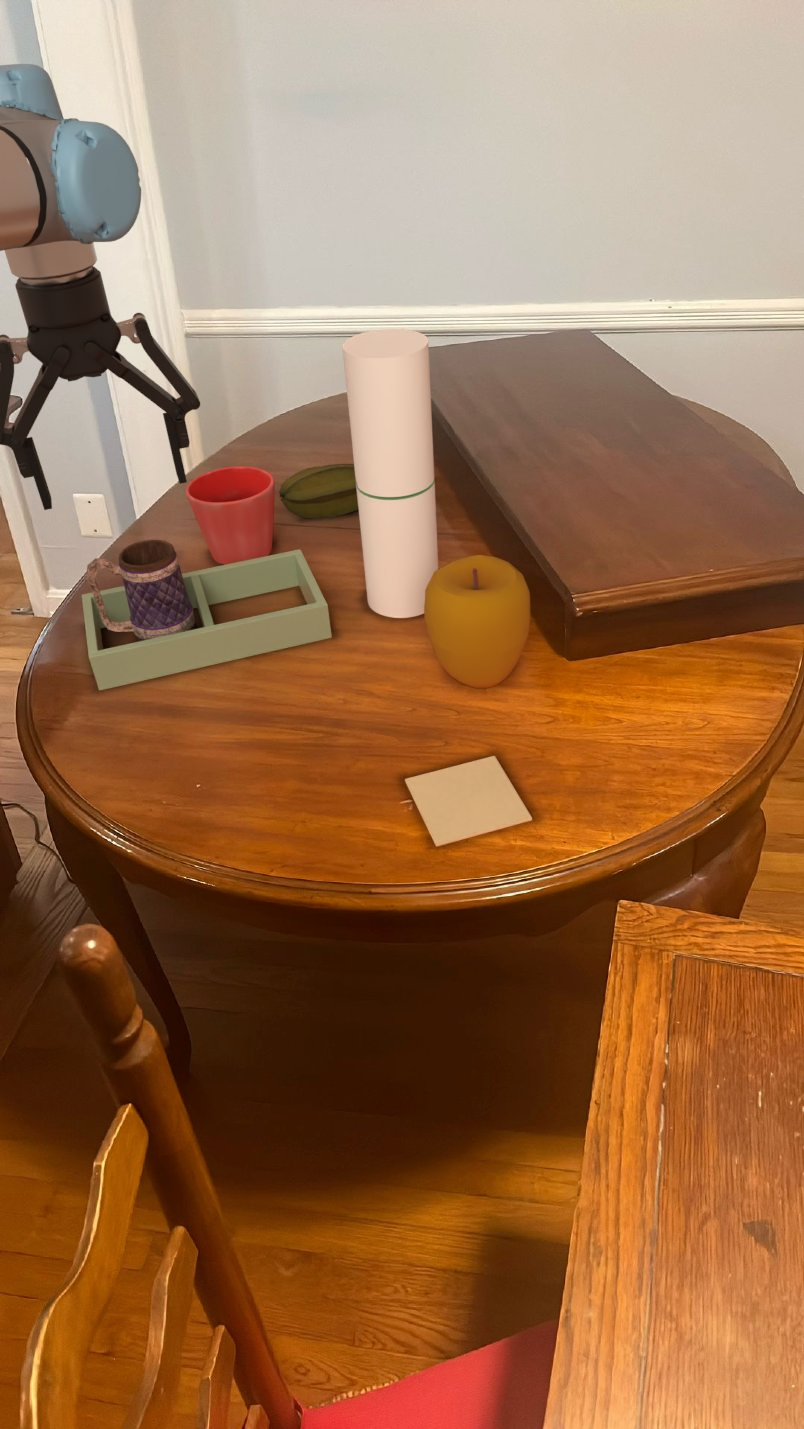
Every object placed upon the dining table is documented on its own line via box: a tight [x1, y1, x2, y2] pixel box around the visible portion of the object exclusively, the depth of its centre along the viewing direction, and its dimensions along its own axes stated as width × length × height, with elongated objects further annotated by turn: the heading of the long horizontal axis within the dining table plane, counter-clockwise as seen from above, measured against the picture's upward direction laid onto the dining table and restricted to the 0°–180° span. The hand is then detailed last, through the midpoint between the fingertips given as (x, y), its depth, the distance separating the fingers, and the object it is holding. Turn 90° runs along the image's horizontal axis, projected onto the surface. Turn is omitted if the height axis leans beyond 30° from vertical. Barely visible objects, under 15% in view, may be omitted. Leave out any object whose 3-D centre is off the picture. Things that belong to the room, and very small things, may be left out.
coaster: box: [404, 755, 533, 848], centre depth 90 cm, size 9×9×1 cm
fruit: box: [278, 463, 359, 520], centre depth 134 cm, size 11×12×7 cm
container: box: [342, 328, 439, 619], centre depth 108 cm, size 9×9×30 cm
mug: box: [85, 539, 198, 642], centre depth 110 cm, size 10×7×12 cm
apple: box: [423, 554, 531, 689], centre depth 102 cm, size 11×11×13 cm
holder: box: [81, 548, 333, 691], centre depth 113 cm, size 26×14×4 cm, turn 107°
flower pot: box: [185, 466, 276, 565], centre depth 126 cm, size 11×11×10 cm
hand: (115, 490), depth 102 cm, fingers open, 13 cm apart
